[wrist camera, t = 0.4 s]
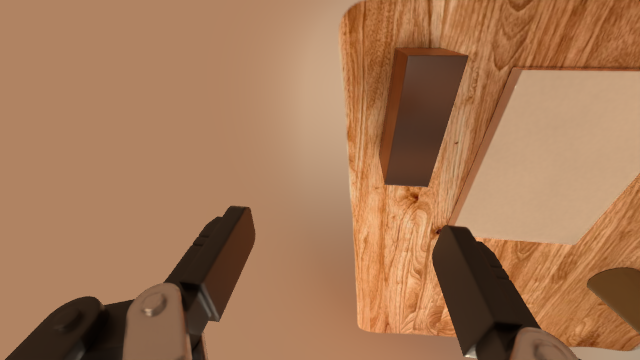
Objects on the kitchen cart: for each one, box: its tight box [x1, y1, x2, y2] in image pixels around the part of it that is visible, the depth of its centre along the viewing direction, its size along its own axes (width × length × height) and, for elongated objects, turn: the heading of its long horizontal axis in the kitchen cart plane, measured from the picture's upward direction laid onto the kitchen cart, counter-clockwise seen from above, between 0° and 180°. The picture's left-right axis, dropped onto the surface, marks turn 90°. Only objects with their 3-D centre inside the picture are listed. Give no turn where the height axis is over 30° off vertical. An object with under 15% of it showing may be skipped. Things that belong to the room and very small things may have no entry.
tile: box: [448, 67, 640, 245], centre depth 25 cm, size 20×15×2 cm
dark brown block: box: [379, 48, 468, 187], centre depth 21 cm, size 11×4×6 cm, turn 1°
